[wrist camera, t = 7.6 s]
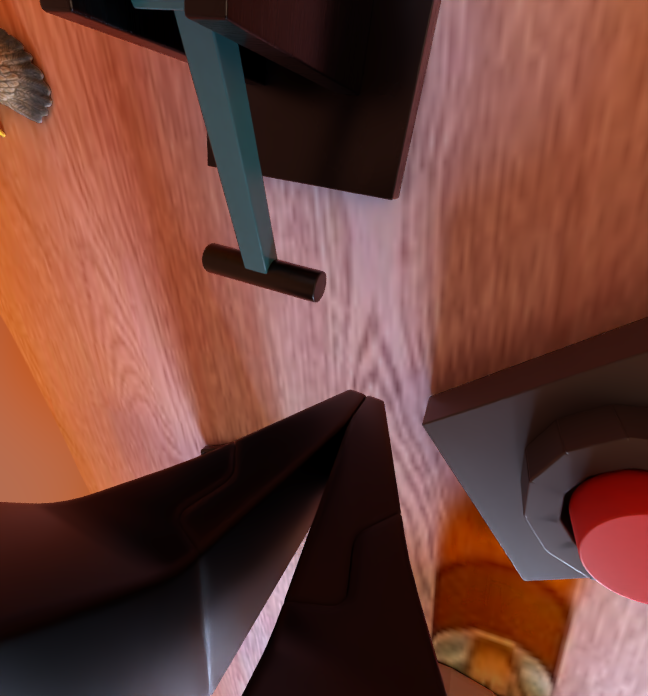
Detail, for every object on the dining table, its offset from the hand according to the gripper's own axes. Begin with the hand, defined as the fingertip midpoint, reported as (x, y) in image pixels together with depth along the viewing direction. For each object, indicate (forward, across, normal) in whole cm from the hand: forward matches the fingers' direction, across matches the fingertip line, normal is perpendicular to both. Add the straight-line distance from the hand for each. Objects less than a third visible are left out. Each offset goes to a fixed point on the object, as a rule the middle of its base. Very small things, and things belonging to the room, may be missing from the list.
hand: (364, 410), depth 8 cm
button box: (+10, -9, +5) cm, 14 cm away
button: (+6, -9, +5) cm, 12 cm away
